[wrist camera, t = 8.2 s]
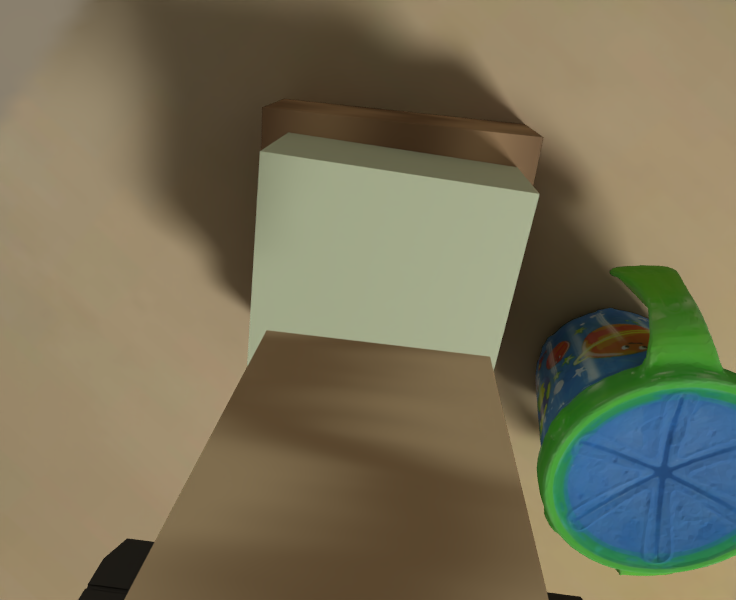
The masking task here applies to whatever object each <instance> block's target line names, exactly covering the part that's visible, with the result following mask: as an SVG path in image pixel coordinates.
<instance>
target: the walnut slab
mask: <svg viewBox="0 0 736 600" xmlns="http://www.w3.org/2000/svg"><path fill="white" fill-rule="evenodd" d="M288 132H289V133H296V134H302V135H309V136H315V137H322V138H329V139H335V140H342V141H348V142H355V143H361V144H368V145H375V146H381V147H388V148H394V149H401V150H407V151H414V152H421V153H427V154H434V155H440V156H447V157H453V158H460V159H467V160H473V161H480V162H486V163H493V164H500V165H506V166H513V167H518V169H519V170H520V171H521V172H522V173H523V175H524V176H525V177H526V178H527V179H528V181H529V182H530V183H531V184H532V185H533V184H534V180H535V175H536V170H537V165H538V160H539V156H540V151H541V146H542V141H543V137H542V136H541V135H539V134H538V133H536V132H535V131H534V130H532V129H531V128H529V127H528V126H526V125H525V124H517V123H507V122H498V121H489V120H479V119H470V118H460V117H451V116H441V115H432V114H423V113H413V112H404V111H394V110H385V109H376V108H366V107H357V106H347V105H338V104H328V103H319V102H310V101H300V100H291V99H283V100H280V101H277V102H275V103H272V104H270V105H267V106H265V107H262V146H261V150H263V149H264V148H266V147H267V146H269V145H270V144H272V143H273V142H275V141H276V140H278V139H279V138H281V137H282V136H284V135H285V134H287V133H288ZM496 361H497V360H496ZM495 365H496V364H495ZM494 370H495V368H494Z"/></svg>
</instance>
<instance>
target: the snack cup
mask: <svg viewBox="0 0 736 600" xmlns="http://www.w3.org/2000/svg"><path fill="white" fill-rule="evenodd" d="M610 274H611V275H612V276H615V277H618V278H619V279H620V280H621V281H622V282H623V283H624V284H625V285H626V286H627V287H628V288H629V289H630V290H631V291H632V292H633V293H634V294H635V295H636V296H637V297H638V298H639V299H640V300H641V301H642V303H644V305H645V306H647V308H648V312H649V315H648V316H649V319H647V318H645V317H643V316H640V315H638V314H634V313H631V312H627V311H622V310H617V309H613V308H607V309H603V310H597V311H596V312H594V313H590V314H587V315H584V316H582V317H579V318H577V319H574V320H572V321H570V322H568V323H566V324H565V325H564V326H562V327H561V328H560V329H559V330H558V331H557V332H556V333H555V334H554V335H552V336H550V337H548V338H547V340H546V342H545V344H544V345H543V347H542V352H541V354H540V358H539V360H538V362H537V368H536V395H537V407H538V419H539V431H540V441H541V448H540V451H539V456H538V462H537V477H538V484H539V490H540V495H541V499H542V502H543V505H544V514H545V517H546V519H547V521H548V523H549V525H550V526H551V528H552V529H553V530H554V531H555V532H557V533H558V534H559V535H560V536H561V537H562V538H563V539H564V540H565V541H566V542H567V543H568V544H569V545H570V546H571V547H572V548H574V549H575V550H577V551H578V552H579V553H581V554H583V555H584V556H586V557H588V558H589V559H591V560H593V561H596V562H598V563H600V564H602V565H605V566H608V567H611V568H615V569H616V570H617V572H618V573H619V575H636V576H653V575H667V574H672V573H675V572H683V571H688V570H694V569H698V568H702V567H707V566H709V565H712V564H716V563H718V562H721V561H723V560H726V559H728V558H730V557H733V556H735V555H736V373H734V372H731V371H729V370H726V369H723V368H722V366H721V363H720V361H719V357H718V354H717V351H716V348H715V346H714V343H713V340H712V337H711V335H710V333H709V331H708V328H707V325H706V323H705V321H704V318H703V316H702V314H701V312H700V310H699V308H698V306H697V304H696V303H695V301H694V299H693V298H692V296H691V295H690V293H689V291H688V290H687V288H686V286H685V285H684V283H683V281H682V279H681V277H680V275H679V274H678V272H677V271H676V270H674V269H672V268H669V267H665V266H644V265H640V266H625V267H616V268H613V269H612V270H611V271H610Z"/></svg>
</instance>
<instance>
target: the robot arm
mask: <svg viewBox="0 0 736 600" xmlns="http://www.w3.org/2000/svg"><path fill="white" fill-rule="evenodd" d="M153 544H154V542H150V541H143V540H135V539H126V540H125V541H124V542H123V543H121V544H120V545H119V546H118V547H117V548H116V549H114V550H113V551H112V552H111V553H110V554H108V555H107V556H106V557H105V558H104V559H103V560H102V562H101V564H100V565H99V567H98V569H97V570H96V572H95V573H94V575H93V577H92V578H91V580H90V582H89V583H88V587H87V589H85V590H84V591H83V593H82V595H81V596H80V598H79V600H124V599H125V597H126V595H127V594H128V592H129V590H130V588H131V586H132V584H133V582H134V580H135V578H136V576H137V575H138V573H139V571H140V569H141V567H142V565H143V563H144V561H145V559H146V558H147V556H148V554H149V552H150V550H151V548H152V546H153ZM547 595H548V599H549V600H582V598H581V597H578V596H570V595H563V594H555V593H548V592H547Z"/></svg>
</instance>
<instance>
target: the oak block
mask: <svg viewBox="0 0 736 600" xmlns="http://www.w3.org/2000/svg"><path fill="white" fill-rule="evenodd" d="M124 600H549V599H548V595H547V591H546V587H545V583H544V578H543V574H542V570H541V566H540V562H539V558H538V554H537V549H536V545H535V541H534V537H533V533H532V529H531V524H530V520H529V516H528V512H527V508H526V504H525V500H524V495H523V491H522V487H521V483H520V479H519V475H518V471H517V466H516V462H515V458H514V454H513V450H512V446H511V442H510V437H509V433H508V429H507V425H506V421H505V417H504V413H503V408H502V404H501V400H500V396H499V392H498V388H497V383H496V379H495V375H494V371H493V367H492V363H491V359H490V357H489V356H481V355H472V354H464V353H456V352H447V351H439V350H430V349H422V348H413V347H405V346H396V345H388V344H379V343H371V342H363V341H354V340H346V339H337V338H329V337H320V336H312V335H303V334H295V333H287V332H278V331H270V330H266V332H265V334H264V336H263V338H262V340H261V342H260V344H259V345H258V347H257V349H256V351H255V353H254V355H253V357H252V359H251V361H250V363H249V364H248V366H247V368H246V370H245V372H244V374H243V376H242V378H241V380H240V381H239V383H238V385H237V387H236V389H235V391H234V393H233V395H232V397H231V398H230V400H229V402H228V404H227V406H226V408H225V410H224V412H223V414H222V416H221V417H220V419H219V421H218V423H217V425H216V427H215V429H214V431H213V433H212V434H211V436H210V438H209V440H208V442H207V444H206V446H205V448H204V450H203V451H202V453H201V455H200V457H199V459H198V461H197V463H196V465H195V467H194V469H193V470H192V472H191V474H190V476H189V478H188V480H187V482H186V484H185V486H184V487H183V489H182V491H181V493H180V495H179V497H178V499H177V501H176V503H175V505H174V506H173V508H172V510H171V512H170V514H169V516H168V518H167V520H166V522H165V523H164V525H163V527H162V529H161V531H160V533H159V535H158V537H157V539H156V540H155V542H154V544H153V546H152V548H151V550H150V552H149V554H148V556H147V558H146V559H145V561H144V563H143V565H142V567H141V569H140V571H139V573H138V575H137V576H136V578H135V580H134V582H133V584H132V586H131V588H130V590H129V592H128V594H127V595H126V597H125V599H124Z"/></svg>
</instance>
